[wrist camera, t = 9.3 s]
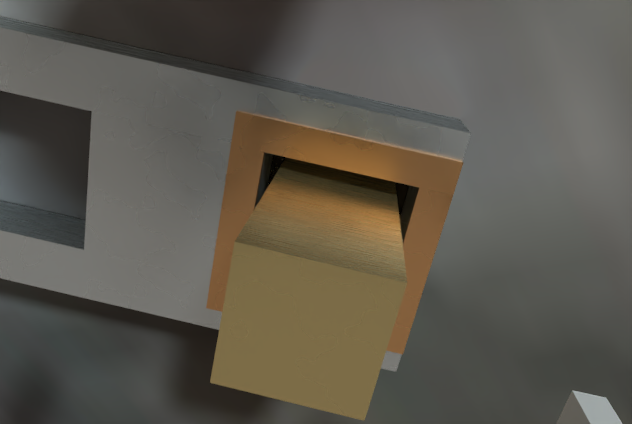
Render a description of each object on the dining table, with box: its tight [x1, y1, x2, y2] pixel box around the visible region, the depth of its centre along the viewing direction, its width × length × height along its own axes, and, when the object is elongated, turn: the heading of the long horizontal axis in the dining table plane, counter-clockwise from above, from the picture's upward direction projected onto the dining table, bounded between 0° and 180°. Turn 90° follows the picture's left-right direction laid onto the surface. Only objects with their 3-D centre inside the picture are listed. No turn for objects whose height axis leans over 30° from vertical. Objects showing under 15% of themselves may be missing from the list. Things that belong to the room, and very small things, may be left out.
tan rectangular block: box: [210, 157, 407, 420], centre depth 18 cm, size 4×4×9 cm
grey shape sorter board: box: [0, 17, 471, 372], centre depth 21 cm, size 20×10×3 cm, turn 78°
